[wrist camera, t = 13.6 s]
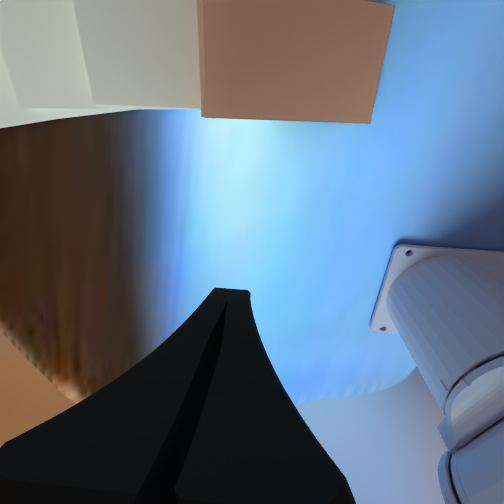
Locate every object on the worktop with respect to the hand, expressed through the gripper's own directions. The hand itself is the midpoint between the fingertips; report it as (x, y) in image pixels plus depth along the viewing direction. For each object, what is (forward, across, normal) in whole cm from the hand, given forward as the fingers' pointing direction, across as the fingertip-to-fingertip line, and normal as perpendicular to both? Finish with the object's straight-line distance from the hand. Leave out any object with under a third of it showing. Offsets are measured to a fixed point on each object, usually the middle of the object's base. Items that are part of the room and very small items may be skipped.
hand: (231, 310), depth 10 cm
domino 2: (+10, -1, -9) cm, 13 cm away
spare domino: (+10, -6, -9) cm, 14 cm away
